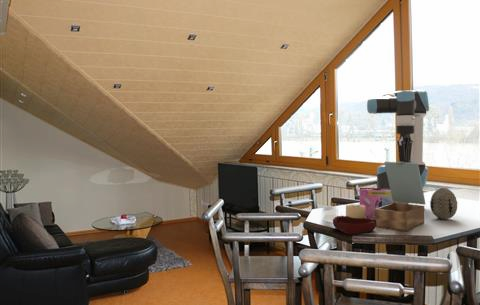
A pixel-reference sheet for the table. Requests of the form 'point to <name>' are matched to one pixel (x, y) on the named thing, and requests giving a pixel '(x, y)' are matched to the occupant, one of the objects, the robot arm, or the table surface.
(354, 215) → the beige rounded cone
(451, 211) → the decorative egg
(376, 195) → the gum box
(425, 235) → the table surface
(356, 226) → the dark red bean shape
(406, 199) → the lid
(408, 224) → the chest
